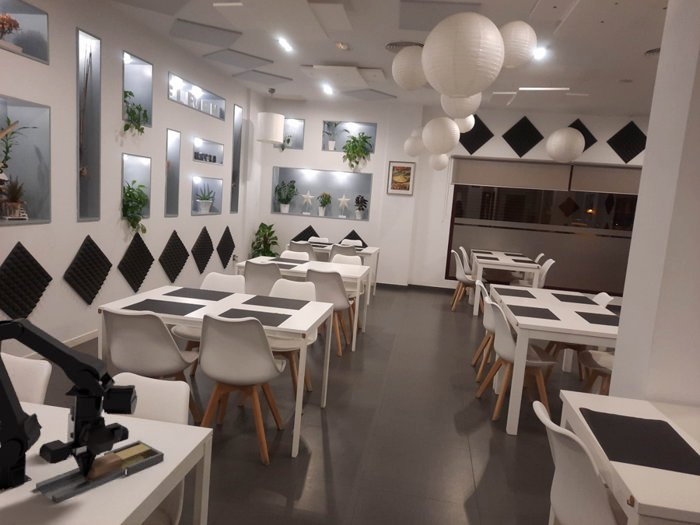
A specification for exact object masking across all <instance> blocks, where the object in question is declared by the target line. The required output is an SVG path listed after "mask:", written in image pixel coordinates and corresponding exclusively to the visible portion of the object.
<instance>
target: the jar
mask: <svg viewBox="0 0 700 525" xmlns="http://www.w3.org/2000/svg"><path fill="white" fill-rule="evenodd" d="M102 403H103V399H102ZM69 405H70V406H69V413H68V415H67V435H66V436H67V437H66V439H67V440H66V443H68V442H71V441H73V438H71V437H70V433H72V432H74V422H73V421H72V420H71V416H74V414H75V400H73V401H71V402H70V404H69ZM101 416H102V417H104V419H105V418H106V417H105V416H106V413H104V409H103V407H102V414H101Z"/></svg>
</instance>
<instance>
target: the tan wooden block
mask: <svg viewBox="0 0 700 525" xmlns="http://www.w3.org/2000/svg"><path fill="white" fill-rule="evenodd" d="M129 450H130V451H132V452H134V453H136V454H137V460H136V463H137V462H139V461H142V460H144V459H147V458H149V457H151V456H150V448H148V447H146V446H145V445H143V444H140V445H137V446H134V447H132V448H129Z"/></svg>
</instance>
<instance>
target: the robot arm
mask: <svg viewBox="0 0 700 525" xmlns="http://www.w3.org/2000/svg"><path fill="white" fill-rule="evenodd" d="M13 339H14V340H15V341H18V342H19V343H20V344H22V345H24V346H25V347H27V348H28V349H30V350H31V351H33V352H34V353H37V355H40V356H41V357H43V358H44V359H46V360H48V361H49V362H51V363H53V364H54V365H56V366H57V367H59V368H60V369H61V370H62V372H63V373H64V375H65V377H67V378H66V379H68V380H70V381H71V382H72V383H73V385H72V387H71V388H69V389H68V390H67V391H66V392H65V396H68V397H74V398H75V400H74V401H75V414H74V416H71V420H72V421H73V422H74V432H72V433H70V437H71V438H73V441H71V442H68V443H67V442H64V441H62V440H60V439H56V440H52V441H49V442H47V443H42V444H41V446H40V448H39V450H38V451H39V454H38V456H39V457H40V458H42V459H43V460H44V461H46V462H47V463H49V464H52V465H53V464H57V463H61V462H64V461H67V460H68V458H69V457H70V456H72V457H73V458H74V460H75V462H76V464H77V466H78V467H77V468H79V469H80V471H81V474H82V476H84V477H86V476H87V475H88V473H89V470H90V468H91V466H92V464H93V461H94V459H96V458H97V456H99V455H101V454H104V453H106V452H109V451H112V450H113V448H114V445H115V444H118V443H120V442H121V443H122V442H123V441H127V440H128V439H129V436H130V431H129V429H128V428H127V426H124V425H122V424H121V423H119V422H113V423H110V424H107V425H106V420H105V418H104V417H102V416H101V414H102V407H103V409H104V413H105V414H107V415H126V416H127V415H130V416H133V415H134V414H135V411H136V407H137V402H138V395H137V391H136V385H135V384H128V385H127V384H126V385H118V384H117V385H115V384H116V381H115V380H114V378H113V377H112V375H111V374H110V373H109V372H108V370H107V369H108V368H107V364H106V363H105V361H104V360H103V359H101V358H99V357H98V356H97V357H96V356H95V355H92V354H89V353H86V352H81V351H77V350H75V349H73V348H71V347H69V346H68V345H67V344H65V343H64V342H62V341H60V340H59V339H58V338H56V337H54V336H53V335H51V334H50V333H48V332H46V331H44V330H43V329H42V328H40V327H38V326H36V325H35V324H33V323H32V321H31V320H29V319H28V318H26V317H19V318H16V319H2V320H0V491H6V490H9V489H13V488H16V487H18V486H21V485H24V484H25V483H27V482H30V481H32V480H33V479H32V478H31V477H30V476H28V475H27V474H26V470H27V468H26V467H27V465H26V464H27V454H26V453H28V451H30V449H32V447H33V446H34V445H35V444H36V443H37V442H38V441H39V439H40V438H41V436H42V435H41V434H42V432H41V430H42V428H43V426H42V425H41V424H40V422H39V419H38V415H37V413H32V414H28V413H27V412H26V411H24V409H23V407H22V405H21V402H20V400H19V397H18V395H17V392H16V390H15V388H14V385H13V383H12V382H13V381H12V379H11V377H10V375H9V373H8V370H7V368H6V365H5V363H4V361H3V357H2V352H1V351H2V343H3V342H2V341H6V340H8V341H9V340H13ZM100 382H101V383H100ZM102 400H103V403H102Z"/></svg>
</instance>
